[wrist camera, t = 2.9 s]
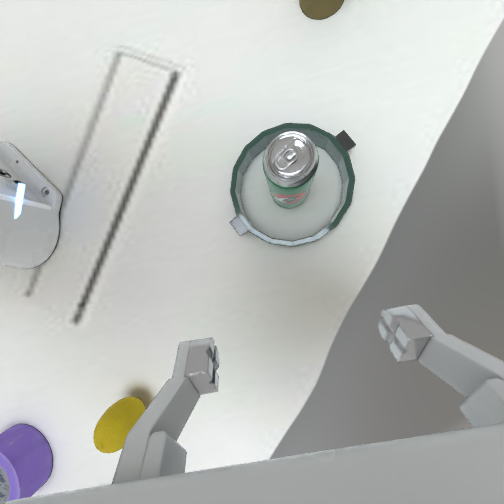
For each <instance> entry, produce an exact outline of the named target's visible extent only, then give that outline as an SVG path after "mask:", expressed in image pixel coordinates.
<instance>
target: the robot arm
mask: <svg viewBox="0 0 504 504" xmlns="http://www.w3.org/2000/svg"><path fill="white" fill-rule="evenodd" d="M61 202H62V195H61V193H60V192H59V191H58V190H57V189H56V188H55V187H54V186H53V185H52V184H51V183H50V182H49V181H48V180H47V179H46V178H45V177H44V176H43V175H42V174H41V173H40V172H39V171H38V170H37V169H36V168H35V167H34V166H33V165H32V164H31V163H30V162H29V161H28V160H27V159H26V158H25V157H24V156H23V155H22V154H21V153H20V152H19V151H18V150H17V149H16V148H15V147H14V146H13V145H12V144H10V143H6V142H0V266H10V267H17V268H23V269H29V268H34V267H37V266H39V265H40V264H42V263H43V262H45V261H46V260H47V259H48V258H49V256H50V255H51V254H52V252H53V250H54V248H55V246H56V243H57V240H58V235H59V210H60V206H61ZM381 315H382V318H381V319H380V320H379V322H378V330H379V332H380V335H381V336H382V338H383V340H385V341H386V342H388V343H389V344H390V348H389V349H390V350H391V352H392V354H393V355H394V357H395V358H396V360H397V361H398V362H406V361H414V360H418V362H419V363H421V364H422V365H423V366H425V367H426V368H427V369H429V370H430V371H431V372H433V373H434V374H435V375H437V376H438V377H439V378H441V379H442V380H443V381H445V382H446V383H447V384H449V385H450V386H451V387H453V388H454V389H455V390H457V391H458V392H459V393H461V394H462V395H464V396H465V397H466V398H467V399H466V400H465V401H464V402H463V403H462V404H461V405H460V410H461V411H462V413H463V414H464V416H465V417H466V418H467V420H468V421H469V422H470V424H471V425H472V426H473V428H467V429H460V430H454V431H447V432H441V433H435V434H428V435H423V436H416V437H410V438H403V439H397V440H390V441H384V442H378V443H372V444H365V445H359V446H352V447H346V448H340V449H334V450H327V451H320V452H314V453H308V454H301V455H295V456H289V457H283V458H276V459H270V460H263V461H257V462H251V463H244V464H238V465H231V466H225V467H219V468H212V469H206V470H200V471H193V472H187V473H185V464H186V454H187V452H186V450H185V449H184V448H183V447H182V446H181V445H180V444H179V443H177V442H176V441H177V439H178V437H179V435H180V433H181V431H182V430H183V428H184V426H185V424H186V422H187V420H188V418H189V416H190V414H191V413H192V411H193V409H194V407H195V405H196V403H197V401H198V399H199V397H200V395H202V394H207V393H212V392H218V380H219V376H218V374H217V371H216V370H217V369H218V367H219V353H218V349H217V347H216V346H214V340H213V338H205V339H199V340H191V341H185V342H180V344H179V346H178V351H177V356H176V361H175V366H174V370H173V375H172V379H168V381H167V382H166V383H165V385H164V386H163V387H162V389H161V390H160V391H159V393H158V394H157V396H156V397H155V398H154V400H153V401H152V402H151V404H150V405H149V406H148V408H147V409H146V410H145V412H144V413H143V414H142V416H141V417H140V418H139V420H138V421H137V422H136V424H135V425H134V426H133V428H132V429H131V430H130V432H129V433H128V434H127V436H126V439H125V443H124V446H123V449H122V452H121V456H120V459H119V462H118V465H117V469H116V472H115V475H114V479H113V482H112V484H111V485H104V486H98V487H92V488H85V489H79V490H73V491H66V492H60V493H54V494H47V495H41V496H34V497H28V498H21V499H16V500H11V501H9V502H6V503H4V504H504V361H502V360H500V359H498V358H496V357H494V356H492V355H490V354H488V353H486V352H484V351H482V350H480V349H478V348H476V347H474V346H473V345H471V344H469V343H467V342H465V341H463V340H461V339H459V338H457V337H455V336H453V335H451V334H446V333H445V332H444V331H443V330H442V329H441V328H440V327H439V326H438V325H437V323H436V322H435V321H434V320H433V319H432V318H431V317H430V316H429V315H428V314H427V313H426V312H425V311H424V310H423V308H422V307H420V306H419V305H417V304H413V305H407V306H400V307H394V308H389V309H384V310H382V312H381Z"/></svg>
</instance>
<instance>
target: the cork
mask: <svg viewBox="0 0 504 504" xmlns="http://www.w3.org/2000/svg"><path fill="white" fill-rule="evenodd" d="M299 1H300V7H301V9H302V12H303V13H304V14H305V15H306V16H308V17H310V18H312V19H324V18H328V17H330V16H331V15H333V14H335V13H336V12H337V11H338V10H339V9H340V7H341V6H342V4H343V2H344V0H299Z"/></svg>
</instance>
